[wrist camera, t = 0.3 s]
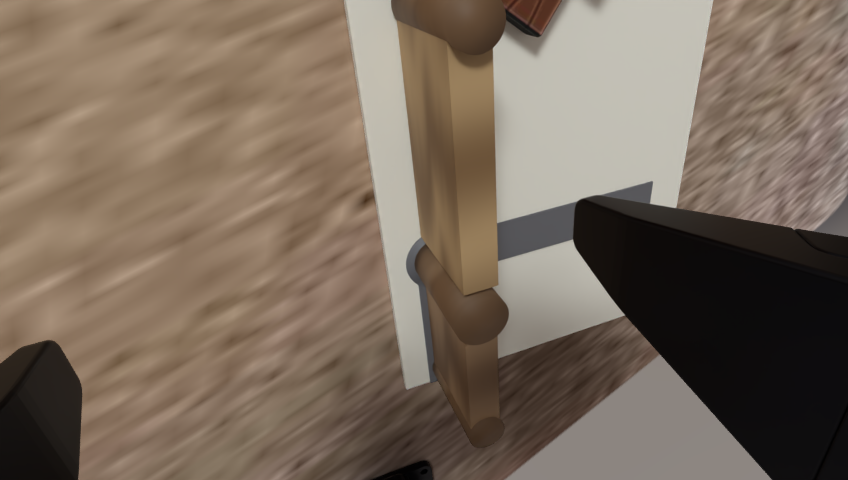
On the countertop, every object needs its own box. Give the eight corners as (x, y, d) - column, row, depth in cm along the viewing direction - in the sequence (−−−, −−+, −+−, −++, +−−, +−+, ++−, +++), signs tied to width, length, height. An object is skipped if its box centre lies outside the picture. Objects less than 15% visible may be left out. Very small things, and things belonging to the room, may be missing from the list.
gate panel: (453, 227, 25) (508, 292, 21) (417, 237, 25) (466, 305, 20) (434, -28, 19) (505, -17, 15) (388, -21, 19) (446, -8, 14)
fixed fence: (467, 367, 30) (510, 437, 26) (428, 381, 30) (465, 454, 25) (458, 231, 26) (508, 290, 21) (411, 244, 25) (453, 307, 21)
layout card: (654, 300, 34) (660, 304, 34) (404, 384, 30) (407, 391, 29) (715, -55, 24) (724, -55, 23) (343, -1, 19) (346, 0, 19)
